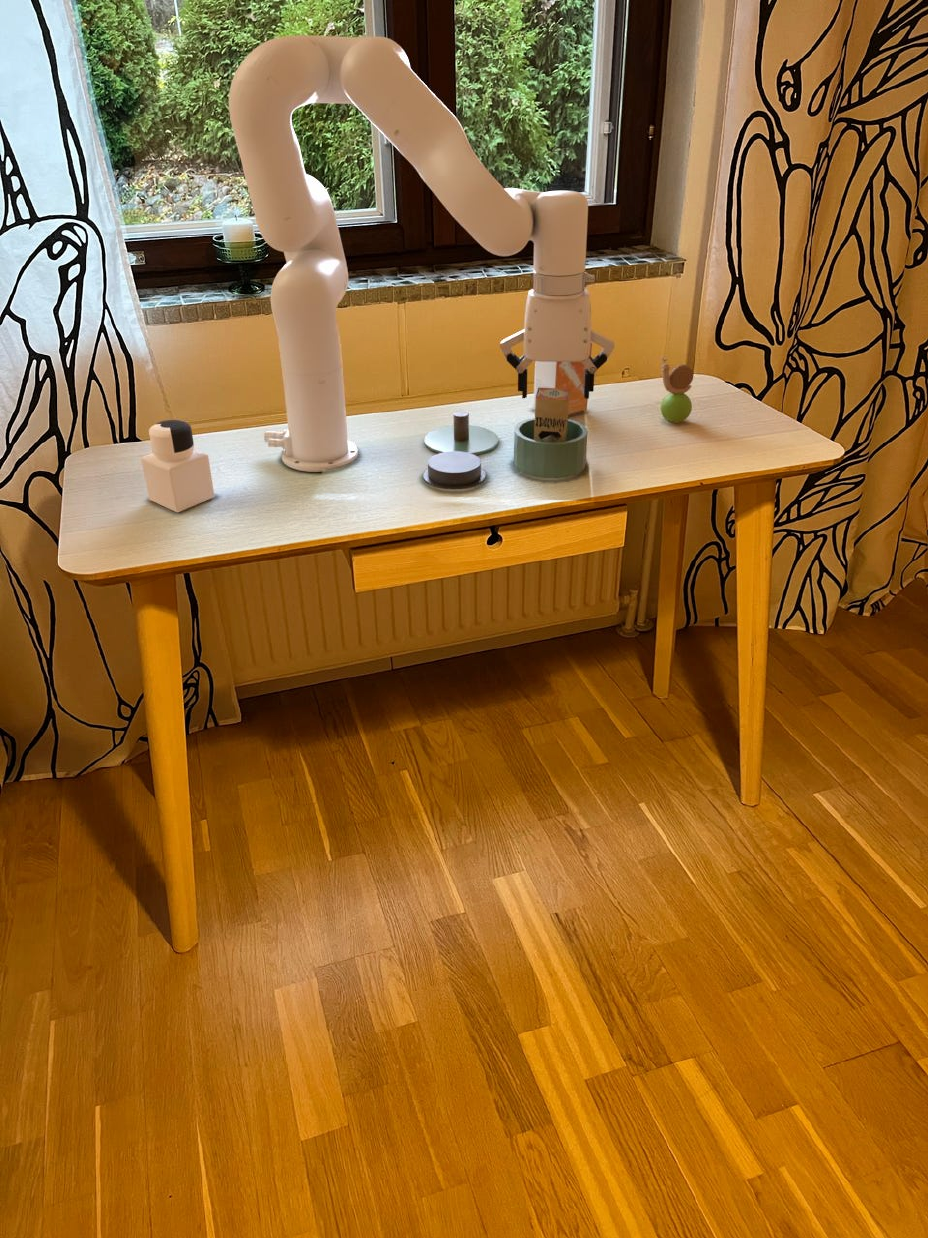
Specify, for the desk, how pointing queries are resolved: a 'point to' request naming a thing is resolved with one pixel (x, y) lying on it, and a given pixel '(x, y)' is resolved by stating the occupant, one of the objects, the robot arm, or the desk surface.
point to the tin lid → (461, 437)
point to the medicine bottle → (176, 467)
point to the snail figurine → (676, 392)
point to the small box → (563, 381)
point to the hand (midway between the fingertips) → (555, 395)
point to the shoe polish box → (551, 415)
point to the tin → (550, 451)
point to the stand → (454, 470)
